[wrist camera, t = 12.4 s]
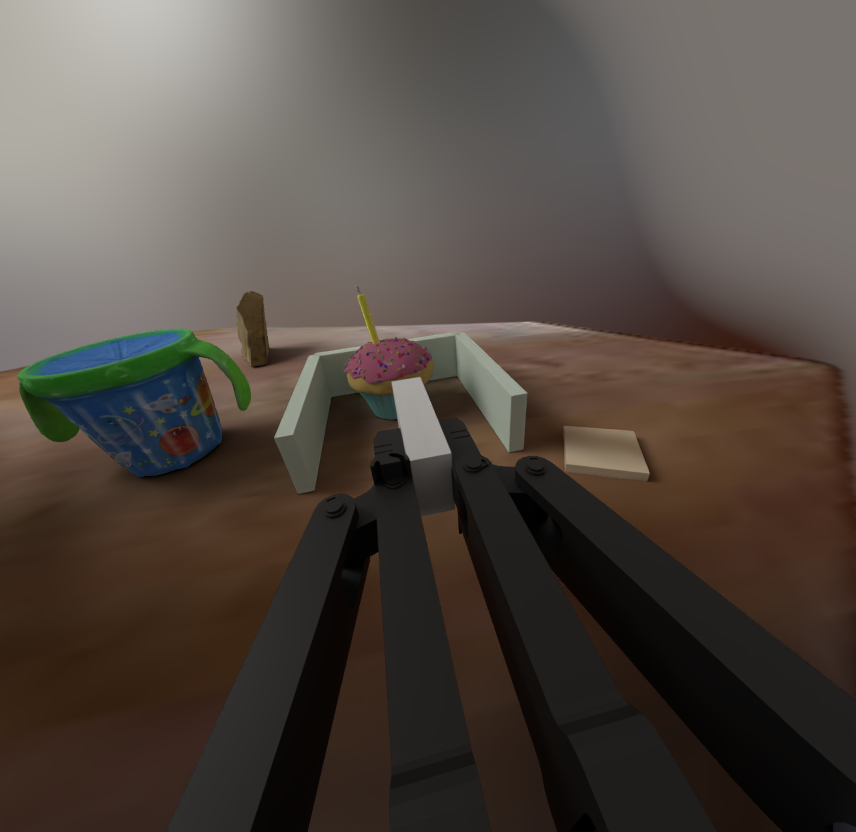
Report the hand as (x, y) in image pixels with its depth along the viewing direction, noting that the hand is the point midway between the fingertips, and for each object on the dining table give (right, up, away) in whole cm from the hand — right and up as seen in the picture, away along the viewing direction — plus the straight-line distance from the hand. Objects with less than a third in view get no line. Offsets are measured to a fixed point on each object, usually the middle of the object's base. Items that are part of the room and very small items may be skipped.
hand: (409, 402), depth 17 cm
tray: (-1, -1, +14) cm, 14 cm away
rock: (-27, +9, +35) cm, 45 cm away
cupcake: (-2, 0, +16) cm, 16 cm away
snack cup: (-22, -4, +13) cm, 26 cm away
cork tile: (+14, -4, +7) cm, 16 cm away
